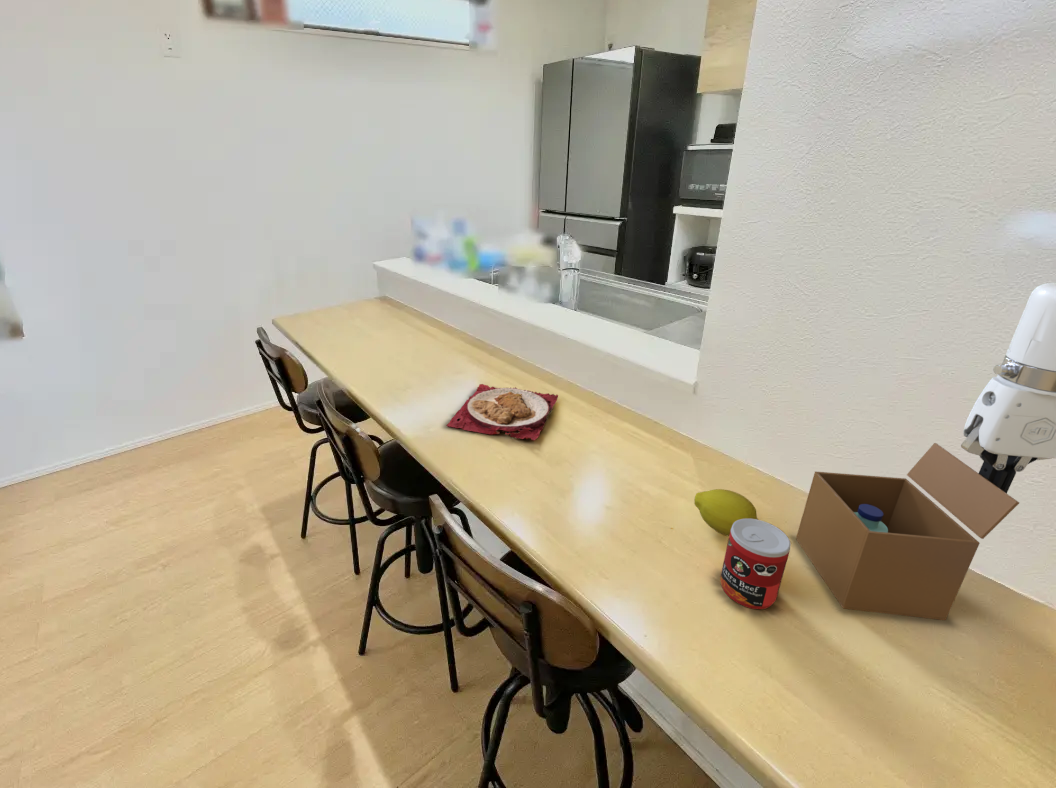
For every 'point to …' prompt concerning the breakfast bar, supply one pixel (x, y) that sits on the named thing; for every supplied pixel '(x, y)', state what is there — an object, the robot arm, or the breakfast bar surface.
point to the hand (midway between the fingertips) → (990, 488)
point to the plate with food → (505, 412)
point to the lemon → (723, 509)
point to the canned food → (754, 563)
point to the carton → (884, 546)
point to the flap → (962, 490)
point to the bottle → (871, 518)
